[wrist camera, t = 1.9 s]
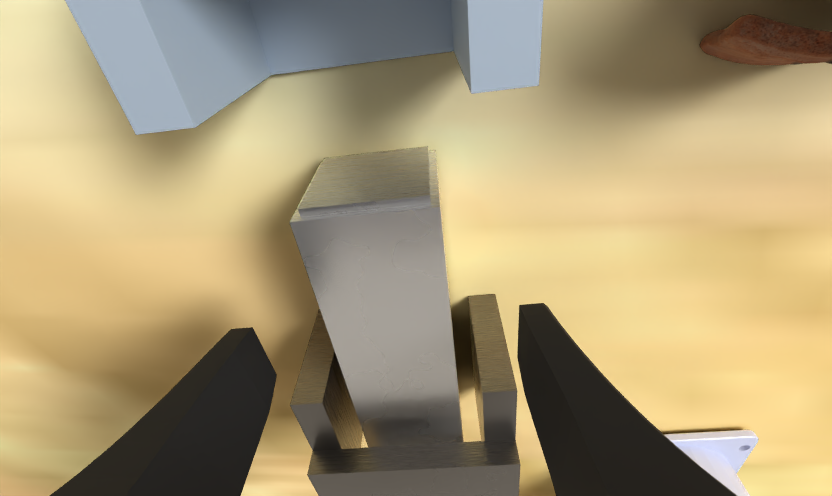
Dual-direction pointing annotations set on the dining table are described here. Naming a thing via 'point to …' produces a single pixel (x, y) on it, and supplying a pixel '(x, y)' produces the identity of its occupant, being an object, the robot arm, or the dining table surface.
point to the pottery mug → (768, 43)
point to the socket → (291, 46)
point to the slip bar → (385, 291)
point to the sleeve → (411, 464)
